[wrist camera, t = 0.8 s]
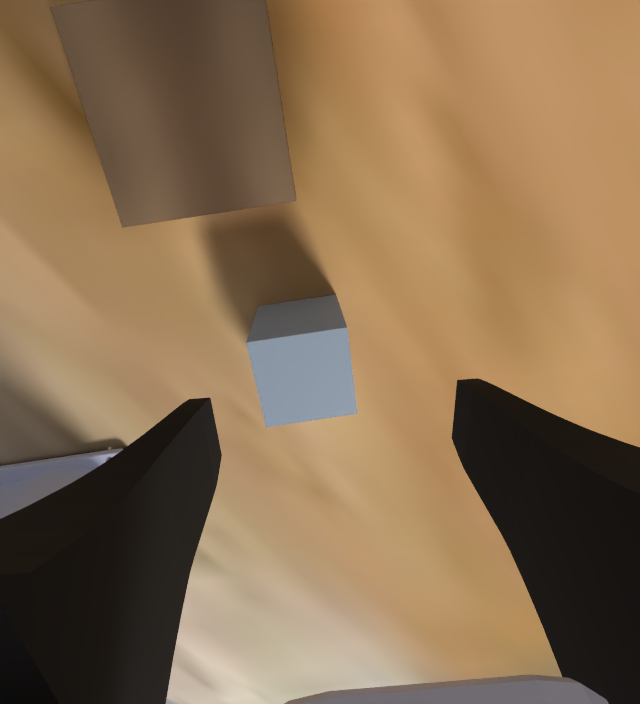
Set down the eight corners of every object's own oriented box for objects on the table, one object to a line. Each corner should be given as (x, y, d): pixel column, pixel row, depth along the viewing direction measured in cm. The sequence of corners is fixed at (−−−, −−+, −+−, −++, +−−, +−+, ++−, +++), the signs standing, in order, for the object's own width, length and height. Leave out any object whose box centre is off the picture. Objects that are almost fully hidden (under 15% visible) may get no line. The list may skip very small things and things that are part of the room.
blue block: (272, 375, 22) (266, 427, 17) (258, 306, 20) (246, 342, 15) (344, 364, 22) (357, 413, 17) (335, 294, 20) (347, 327, 15)
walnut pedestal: (148, 221, 18) (122, 227, 16) (93, 37, 16) (50, 7, 13) (296, 198, 18) (296, 201, 16) (267, 11, 16) (261, -26, 13)
